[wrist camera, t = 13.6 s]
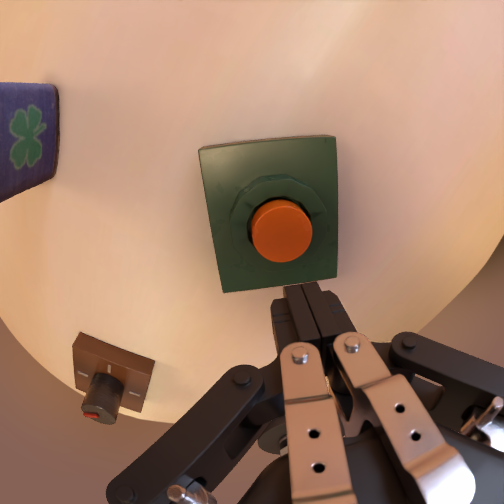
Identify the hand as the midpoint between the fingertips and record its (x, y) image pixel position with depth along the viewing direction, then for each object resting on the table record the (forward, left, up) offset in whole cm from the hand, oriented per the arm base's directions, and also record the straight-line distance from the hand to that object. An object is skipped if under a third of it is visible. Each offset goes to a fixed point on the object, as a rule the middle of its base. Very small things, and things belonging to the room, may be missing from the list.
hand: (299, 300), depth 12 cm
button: (0, 0, -8) cm, 8 cm away
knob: (-18, +22, -9) cm, 30 cm away
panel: (-18, +22, -12) cm, 30 cm away
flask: (+11, +19, -12) cm, 25 cm away
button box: (0, 0, -12) cm, 12 cm away
